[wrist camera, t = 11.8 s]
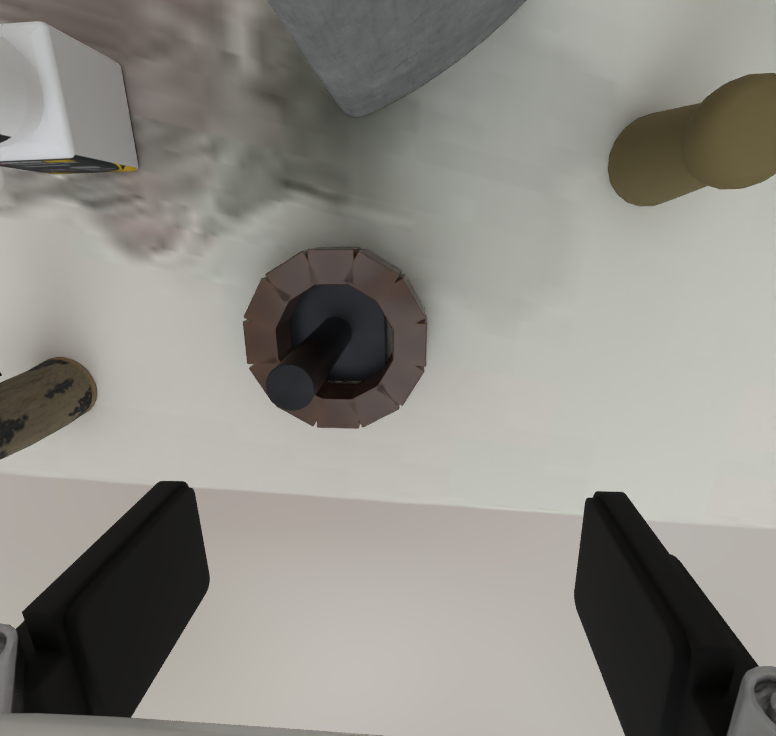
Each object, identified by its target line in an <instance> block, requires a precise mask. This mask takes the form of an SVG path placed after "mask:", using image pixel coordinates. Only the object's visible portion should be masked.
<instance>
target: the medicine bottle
mask: <svg viewBox="0 0 776 736" xmlns="http://www.w3.org/2000/svg"><path fill="white" fill-rule="evenodd" d="M0 166H3V167H9V168H16V169H23V170H29V171H36V172H43V173H49V174H71V173H95V172H120V171H135V170H137V169H138V161H137V155H136V149H135V144H134V138H133V132H132V126H131V121H130V115H129V109H128V103H127V98H126V92H125V86H124V81H123V75H122V69H121V66H120V65H119V64H118V63H117V62H116V61H114V60H112V59H110V58H108V57H107V56H105V55H103V54H101V53H99V52H97V51H96V50H94V49H92V48H90V47H88V46H87V45H85V44H83V43H81V42H79V41H77V40H76V39H74V38H72V37H70V36H68V35H66V34H65V33H63V32H61V31H59V30H57V29H55V28H54V27H52V26H50V25H48V24H46V23H45V22H40V21H36V22H21V23H7V24H0Z"/></svg>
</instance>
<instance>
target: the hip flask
mask: <svg viewBox="0 0 776 736" xmlns="http://www.w3.org/2000/svg"><path fill="white" fill-rule="evenodd" d="M525 1H526V0H268V2H269V3H270V5H271V6H272V8H273V9H274V11H275V12H276V14H277V15H278V17H279V18H280V20H281V21H282V23H283V24H284V26H285V27H286V29H287V30H288V32H289V33H290V35H291V36H292V38H293V39H294V41H295V42H296V44H297V45H298V46H299V48H300V49H301V51H302V52H303V54H304V55H305V57H306V58H307V60H308V61H309V63H310V64H311V66H312V67H313V69H314V70H315V72H316V73H317V75H318V76H319V78H320V79H321V81H322V82H323V84H324V85H325V87H326V88H327V90H328V91H329V93H330V94H331V95H332V97H333V98H334V100H335V101H336V103H337V104H338V106H339V107H340V109H341V110H342V111H343V112H344V113H346V114H347V115H349V116H352V117H362V116H366V115H368V114H370V113H372V112H374V111H377V110H379V109H381V108H383V107H385V106H387V105H389V104H391V103H393V102H395V101H397V100H399V99H400V98H402V97H404V96H406V95H408V94H409V93H411V92H413V91H414V90H416V89H418V88H419V87H421V86H423V85H424V84H426V83H427V82H429V81H430V80H432V79H433V78H435V77H436V76H438V75H439V74H440V73H442V72H443V71H445V70H446V69H447V68H449V67H450V66H452V65H453V64H454V63H456V62H457V61H458V60H460V59H461V58H462V57H464V56H465V55H466V54H468V53H469V52H470V51H471V50H473V49H474V48H475V47H476V46H478V45H479V44H480V43H481V42H482V41H484V40H485V39H486V38H487V37H488V36H489V35H490V34H492V33H493V32H494V31H495V30H496V29H497V28H498V27H499V26H501V25H502V24H503V23H504V22H505V21H506V20H507V19H508V18H509V17H510V16H511V15H512V14H513V13H514V12H515V11H516V10H517V9H518V8H519V7H520V6H521V5H522V4H523V3H524V2H525Z"/></svg>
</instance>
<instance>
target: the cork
mask: <svg viewBox="0 0 776 736" xmlns="http://www.w3.org/2000/svg"><path fill="white" fill-rule="evenodd" d="M608 172H609V177H610V182H611V184H612V186H613V188H614V189H615V191H616V193H617V194H618V195H619V196H620V197H621V198H623V199H624V200H625V201H626V202H628V203H631V204H634V205H638V206H655V205H657V204H660V203H663V202H666V201H669V200H672V199H674V198H677V197H679V196H682V195H685V194H687V193H690V192H693V191H695V190H698V189H701V188H703V187H706V186H711V187H714V188H717V189H740V188H746V187H749V186H752V185H755V184H758V183H761V182H763V181H765V180H767V179H768V178H770V177H771V176H773V175H774V174H776V74H775V73H765V74H749V75H746V76H743V77H740V78H738V79H735V80H733V81H730V82H728V83H726V84H724V85H722V86H721V87H720V88H718V89H717V90H715V91H714V92H713V93H711V94H710V95H709V96H707V97H706V98H705V99H704V100H703V101H702V103H699V104H694V105H689V106H685V107H680V108H675V109H670V110H666V111H661V112H656V113H652V114H649V115H646V116H644V117H641V118H638V119H637V120H635V121H634V122H633V123H631V124H630V125H629V126H627V127H626V128H625V129H624V130H623V132H622V133H621V134H620V136H619V137H618V138H617V139H616V141H615V143H614V146H613V148H612V150H611V153H610V156H609V165H608Z"/></svg>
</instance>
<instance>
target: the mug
mask: <svg viewBox="0 0 776 736" xmlns="http://www.w3.org/2000/svg"><path fill="white" fill-rule="evenodd" d="M0 376H2V374H1V373H0ZM96 396H97V390H96V385H95V382H94V380H93V378H92V376H91V375H90V373H89V372H88V371H87V370H86V369H85V368H84V367H83V366H82V365H81V364H79V363H77V362H75V361H74V360H71V359H68V358H60V357H57V358H52V359H49V360H47V361H45V362H43V363H41V364H39V365H37V366H36V367H34V368H32V369H30V370H28V371H26V372H24V373H22V374H19V375H17V376H15V377H13V378H10V379H8V380H6V381H3V382H1V383H0V460H1V459H3V458H5V457H7V456H9V455H11V454H13V453H15V452H18V451H20V450H22V449H24V448H26V447H28V446H30V445H32V444H34V443H36V442H38V441H40V440H41V439H43V438H45V437H47V436H48V435H50V434H52V433H54V432H56V431H57V430H59V429H61V428H63V427H64V426H66V425H68V424H69V423H71V422H72V421H74V420H75V419H77V418H78V417H79V416H81V415H82V414H84V413H86V412H88V411H89V410H90V409H91V408H92V407H93V406H94V404H95V401H96Z"/></svg>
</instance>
